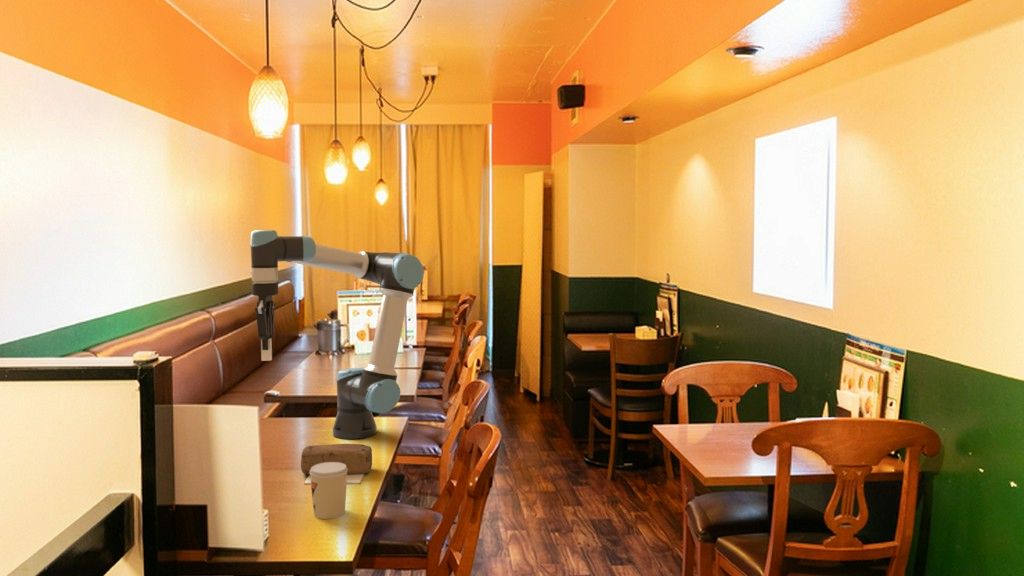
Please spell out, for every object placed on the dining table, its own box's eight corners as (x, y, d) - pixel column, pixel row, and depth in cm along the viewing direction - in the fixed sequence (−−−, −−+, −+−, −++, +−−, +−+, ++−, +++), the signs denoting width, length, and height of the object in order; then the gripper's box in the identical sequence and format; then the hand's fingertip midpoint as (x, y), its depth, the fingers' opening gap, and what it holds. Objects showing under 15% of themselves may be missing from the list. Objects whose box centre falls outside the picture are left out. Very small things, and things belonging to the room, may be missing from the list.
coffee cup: (313, 507, 198) (313, 461, 197) (350, 506, 198) (349, 461, 197) (307, 521, 188) (306, 473, 187) (345, 519, 189) (344, 472, 188)
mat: (319, 462, 235) (319, 460, 235) (370, 461, 235) (370, 460, 235) (304, 484, 215) (304, 482, 215) (359, 483, 215) (359, 482, 215)
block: (299, 476, 219) (369, 476, 221) (299, 450, 219) (370, 450, 221) (306, 465, 230) (373, 465, 232) (306, 441, 230) (373, 441, 232)
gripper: (258, 280, 233) (260, 356, 235) (245, 283, 220) (247, 364, 222) (283, 280, 233) (285, 356, 235) (271, 283, 220) (273, 364, 222)
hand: (266, 360), depth 228 cm, fingers closed
